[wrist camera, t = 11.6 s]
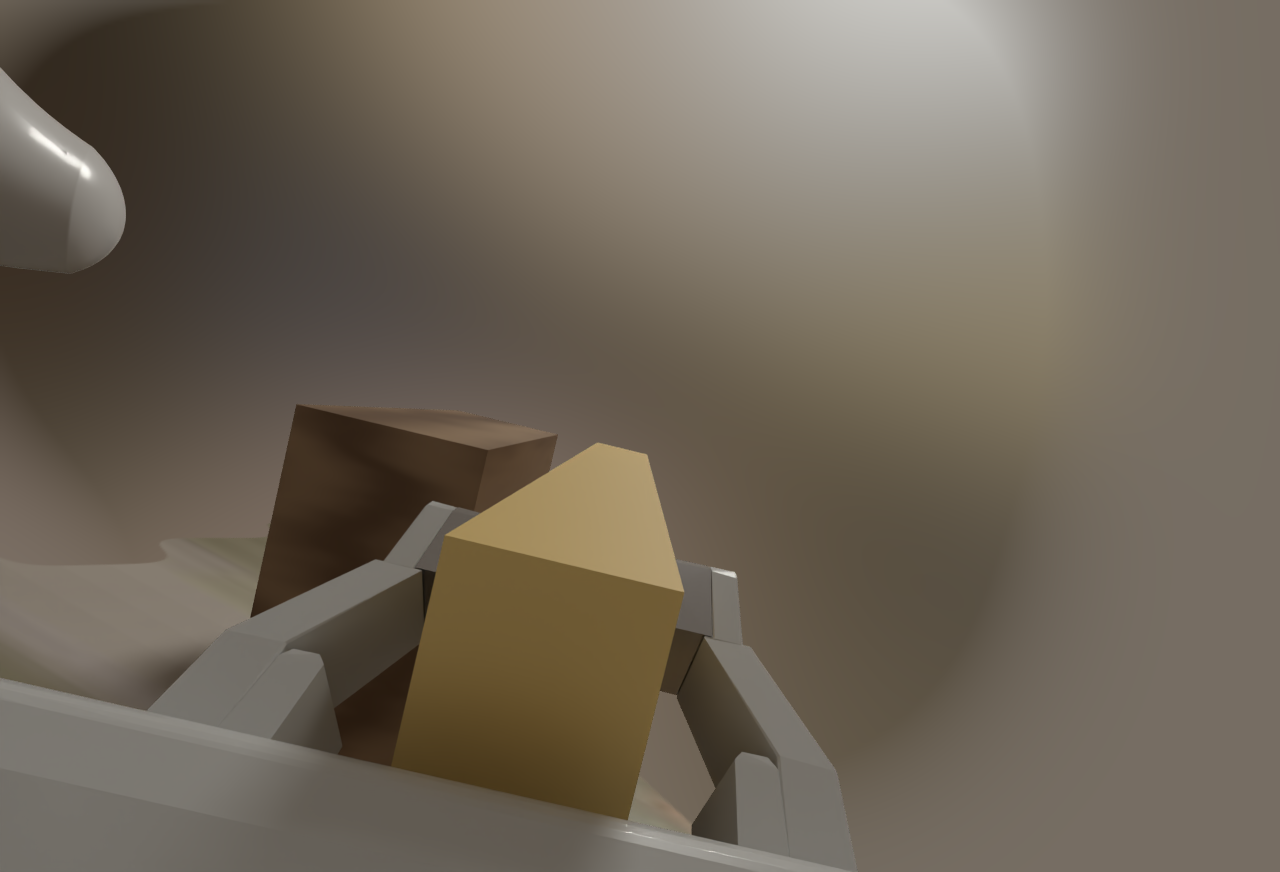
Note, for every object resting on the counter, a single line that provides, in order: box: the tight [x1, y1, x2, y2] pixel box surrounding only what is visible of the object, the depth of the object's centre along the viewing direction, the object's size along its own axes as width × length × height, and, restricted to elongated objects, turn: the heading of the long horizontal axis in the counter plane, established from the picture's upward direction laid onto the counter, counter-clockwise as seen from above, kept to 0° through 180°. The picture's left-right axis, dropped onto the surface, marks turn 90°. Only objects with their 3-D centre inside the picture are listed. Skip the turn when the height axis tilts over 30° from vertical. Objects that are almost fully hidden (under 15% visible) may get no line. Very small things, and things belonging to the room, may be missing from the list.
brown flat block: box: [250, 404, 558, 766], centre depth 26 cm, size 7×16×26 cm, turn 1°
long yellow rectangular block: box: [391, 443, 684, 820], centre depth 18 cm, size 3×23×3 cm, turn 0°
